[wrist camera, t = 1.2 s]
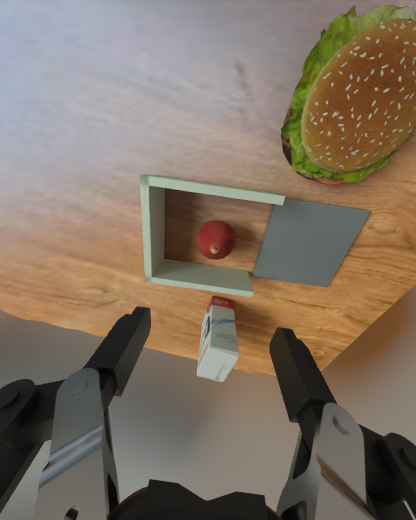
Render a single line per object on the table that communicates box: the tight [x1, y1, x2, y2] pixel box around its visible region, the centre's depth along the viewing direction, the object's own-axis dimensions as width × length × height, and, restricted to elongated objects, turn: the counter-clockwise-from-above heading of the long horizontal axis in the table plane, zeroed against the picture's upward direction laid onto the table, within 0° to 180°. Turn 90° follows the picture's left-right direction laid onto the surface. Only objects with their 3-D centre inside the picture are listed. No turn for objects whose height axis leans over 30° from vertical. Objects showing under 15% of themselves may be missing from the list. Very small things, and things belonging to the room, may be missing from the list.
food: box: [281, 5, 416, 185], centre depth 17 cm, size 14×14×8 cm
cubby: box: [140, 175, 285, 297], centre depth 25 cm, size 17×15×6 cm
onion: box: [197, 220, 236, 260], centre depth 24 cm, size 6×6×8 cm
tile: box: [252, 198, 371, 287], centre depth 27 cm, size 14×14×1 cm
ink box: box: [197, 296, 239, 382], centre depth 31 cm, size 9×5×12 cm, turn 164°
